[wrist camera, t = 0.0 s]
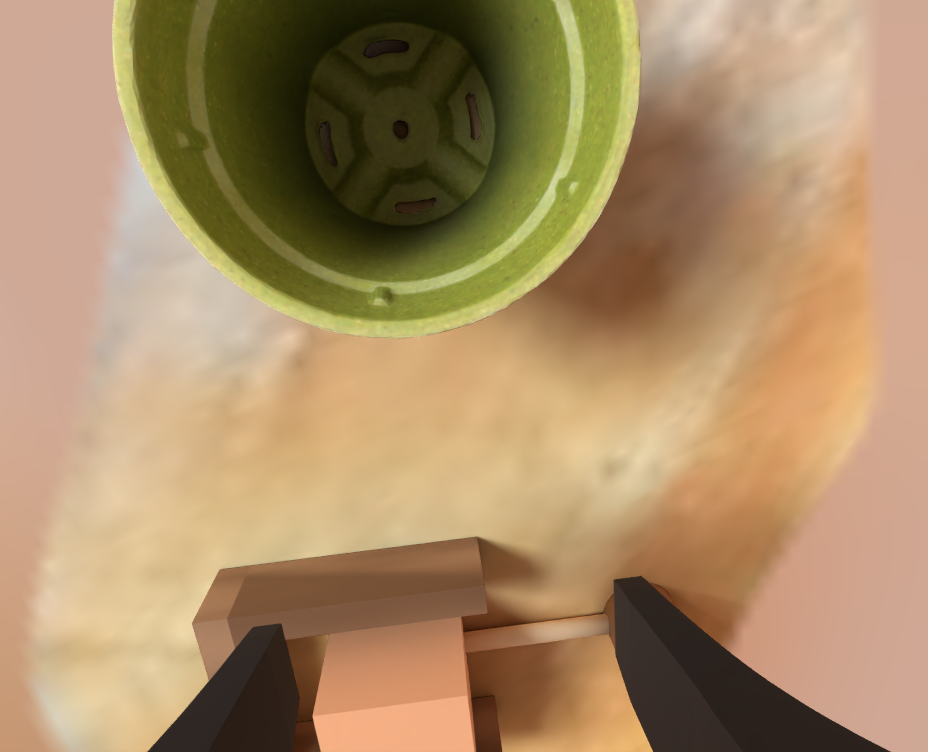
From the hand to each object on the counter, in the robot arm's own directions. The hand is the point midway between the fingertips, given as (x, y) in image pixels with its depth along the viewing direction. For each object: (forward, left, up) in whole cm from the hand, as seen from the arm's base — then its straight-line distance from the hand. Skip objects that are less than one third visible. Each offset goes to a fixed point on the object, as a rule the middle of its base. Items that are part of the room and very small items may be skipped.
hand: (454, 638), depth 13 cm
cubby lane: (-9, +3, -10) cm, 14 cm away
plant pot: (+11, 0, -10) cm, 15 cm away
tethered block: (-9, -2, -10) cm, 14 cm away
